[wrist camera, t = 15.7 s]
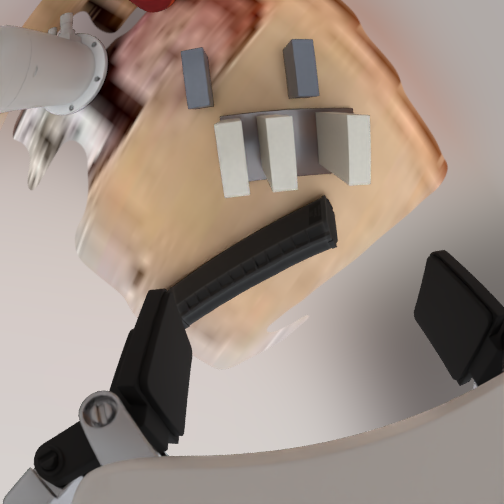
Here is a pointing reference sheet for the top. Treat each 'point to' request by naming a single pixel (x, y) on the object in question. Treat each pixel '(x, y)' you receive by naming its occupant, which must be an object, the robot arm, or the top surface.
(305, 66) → the grey book
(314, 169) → the shelf board
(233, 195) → the white book
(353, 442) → the robot arm
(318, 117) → the white book
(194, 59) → the grey book
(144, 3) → the paper cup
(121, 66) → the top surface
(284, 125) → the white book
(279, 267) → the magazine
